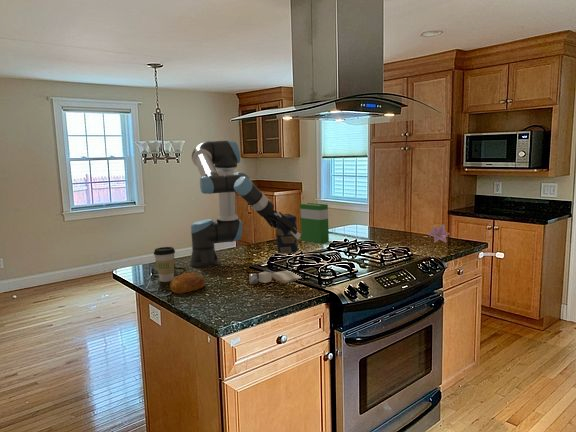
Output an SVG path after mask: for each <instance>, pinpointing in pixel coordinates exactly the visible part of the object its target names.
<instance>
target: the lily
mask: <svg viewBox="0 0 576 432" xmlns="http://www.w3.org/2000/svg"><path fill="white" fill-rule="evenodd" d="M427 235H428V236H431V237H433V240H434V243H436V242H438V241H439V240H440V241H442V242H444V243H447V242H448V241H447V237H446V236H449V235H450V232H447V231H445V224H441V225H440V226H439V227H436V226H434V225H432V231H429V232H428V233H427Z"/></svg>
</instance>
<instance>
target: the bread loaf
mask: <svg viewBox="0 0 576 432" xmlns="http://www.w3.org/2000/svg"><path fill="white" fill-rule="evenodd" d="M205 285H206V280H205V278H204V277H203V276H201V275H200V274H199V273H197V272H184V273H181V274H179V275H177V276H174V277H173V279H172V280H171V281H170V283H169V290H170V291H171V292H173V293H174V294H177V295H178V294H179V295H180V294H186V293H190V292H193V291H196V290H200V289H202V288H203V287H204V286H205Z"/></svg>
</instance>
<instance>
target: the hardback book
mask: <svg viewBox="0 0 576 432" xmlns="http://www.w3.org/2000/svg"><path fill="white" fill-rule="evenodd" d="M299 210H300V228H301V230H300V232H301V233H300V234H301V236H300V238H301V241H302V242H309V243H313V244H314V243H315V244H320V245H321V244H325V243H329V242H330V237H329V236H330V235H329V204H326V203H313V202H312V203H311V202H307V204H306V203H300V207H299Z"/></svg>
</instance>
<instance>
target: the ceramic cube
mask: <svg viewBox="0 0 576 432" xmlns="http://www.w3.org/2000/svg"><path fill="white" fill-rule="evenodd" d="M271 273H272V272H270V271H262V272H261V271H260V272H258V282H260V283H262V284H263V283H264V284H267V283H270V282H272V280H273V279H272V278H271Z"/></svg>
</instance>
